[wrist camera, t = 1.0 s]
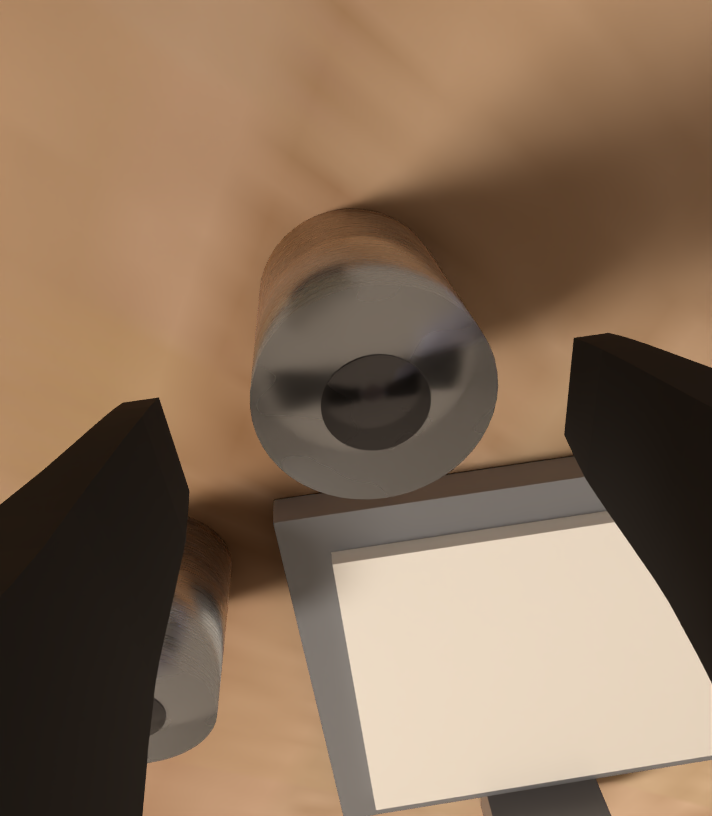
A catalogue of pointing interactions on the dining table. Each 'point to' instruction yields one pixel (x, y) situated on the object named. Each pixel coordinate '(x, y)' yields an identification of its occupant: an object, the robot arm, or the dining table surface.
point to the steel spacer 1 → (192, 647)
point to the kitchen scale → (488, 644)
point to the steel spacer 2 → (366, 360)
